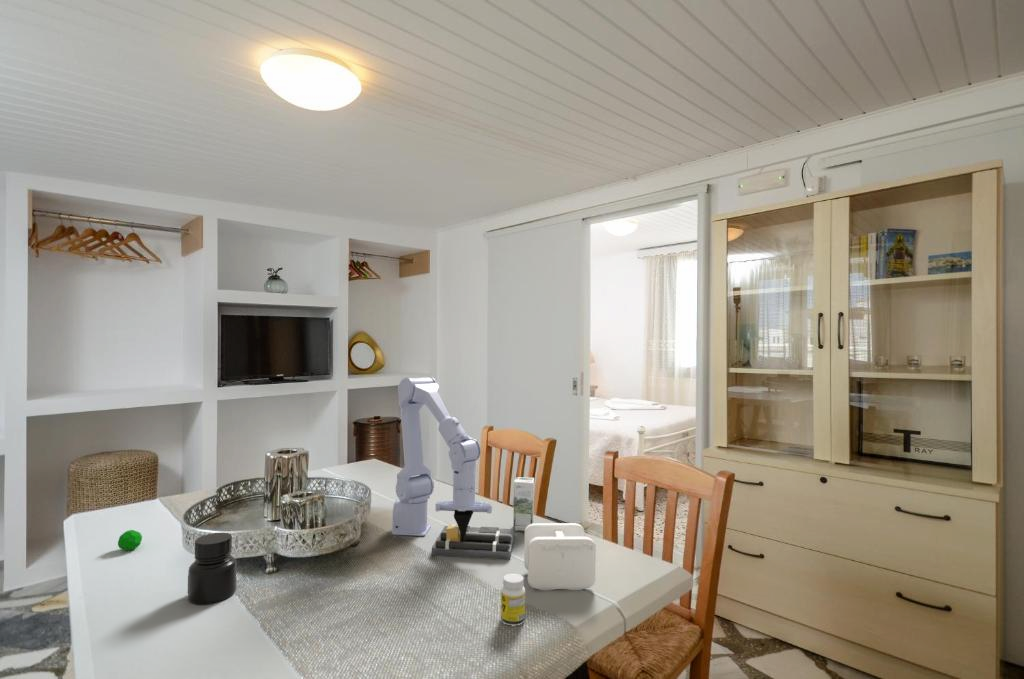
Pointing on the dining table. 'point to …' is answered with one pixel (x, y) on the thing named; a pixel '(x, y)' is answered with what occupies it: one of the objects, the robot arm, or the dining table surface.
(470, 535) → the cable bundles
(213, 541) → the ink bottle
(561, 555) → the cable organizer
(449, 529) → the block
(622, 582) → the dining table surface
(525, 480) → the syrup box
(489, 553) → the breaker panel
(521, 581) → the supplement bottle
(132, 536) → the polyhedron
